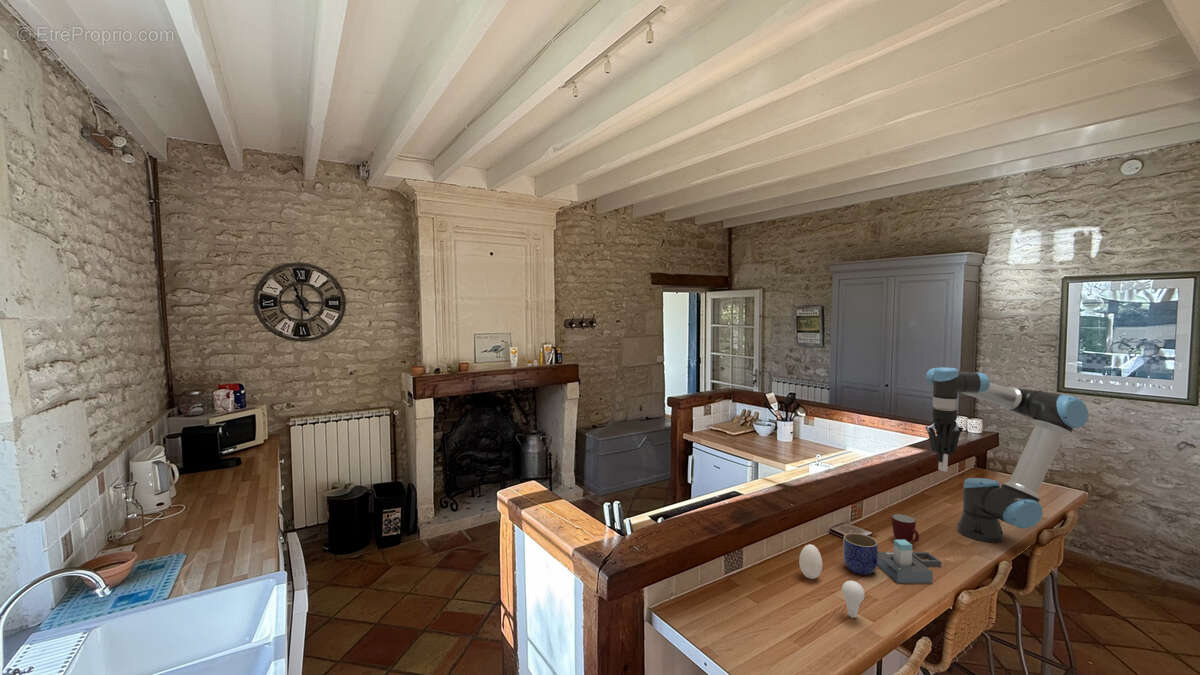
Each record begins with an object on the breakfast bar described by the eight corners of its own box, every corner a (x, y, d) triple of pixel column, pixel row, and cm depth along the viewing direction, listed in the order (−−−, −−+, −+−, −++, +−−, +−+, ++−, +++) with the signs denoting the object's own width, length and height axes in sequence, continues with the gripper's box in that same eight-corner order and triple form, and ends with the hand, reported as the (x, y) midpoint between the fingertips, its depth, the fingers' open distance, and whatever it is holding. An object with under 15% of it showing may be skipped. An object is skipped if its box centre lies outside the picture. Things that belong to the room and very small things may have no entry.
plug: (904, 569, 174) (905, 539, 174) (911, 575, 170) (912, 544, 170) (893, 569, 174) (893, 539, 174) (900, 575, 170) (900, 544, 170)
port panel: (906, 562, 179) (906, 550, 179) (932, 583, 165) (932, 570, 165) (873, 562, 179) (874, 551, 179) (897, 583, 165) (897, 571, 165)
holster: (927, 557, 183) (928, 552, 183) (941, 566, 176) (941, 561, 176) (909, 557, 183) (909, 552, 183) (921, 567, 176) (922, 561, 176)
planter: (873, 564, 177) (874, 535, 177) (880, 580, 167) (881, 548, 167) (840, 560, 181) (841, 530, 180) (845, 575, 171) (845, 544, 170)
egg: (796, 579, 168) (797, 546, 167) (801, 570, 174) (802, 538, 173) (819, 586, 164) (820, 552, 163) (823, 576, 170) (824, 543, 169)
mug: (926, 547, 190) (926, 522, 190) (912, 552, 187) (913, 526, 186) (899, 536, 200) (900, 512, 199) (886, 540, 196) (887, 516, 196)
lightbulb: (837, 611, 150) (837, 577, 149) (855, 610, 150) (856, 576, 150) (848, 624, 144) (849, 588, 143) (868, 623, 144) (869, 587, 144)
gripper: (954, 406, 186) (952, 467, 188) (920, 406, 186) (919, 467, 188) (969, 410, 179) (967, 473, 180) (934, 410, 179) (932, 473, 180)
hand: (942, 470), depth 184 cm, fingers closed
